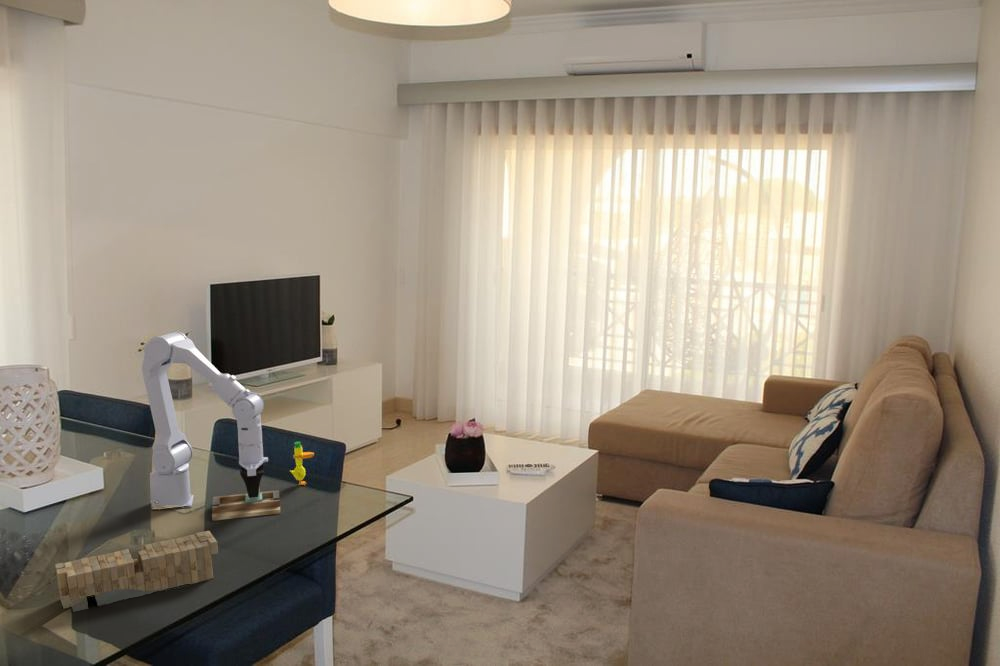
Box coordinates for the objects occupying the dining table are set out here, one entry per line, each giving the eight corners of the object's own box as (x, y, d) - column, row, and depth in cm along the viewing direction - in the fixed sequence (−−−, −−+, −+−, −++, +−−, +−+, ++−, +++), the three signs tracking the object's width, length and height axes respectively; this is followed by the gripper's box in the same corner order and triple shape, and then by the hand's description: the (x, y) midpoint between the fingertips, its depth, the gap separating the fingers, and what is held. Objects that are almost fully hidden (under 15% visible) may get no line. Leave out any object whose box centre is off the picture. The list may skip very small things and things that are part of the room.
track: (212, 520, 204) (211, 509, 204) (214, 503, 215) (213, 493, 215) (280, 513, 208) (279, 502, 208) (279, 496, 220) (278, 486, 219)
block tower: (64, 620, 159) (221, 578, 174) (58, 579, 157) (217, 539, 172) (60, 603, 165) (212, 564, 180) (54, 563, 164) (208, 527, 179)
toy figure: (314, 481, 232) (312, 438, 230) (316, 485, 228) (314, 442, 227) (289, 483, 230) (287, 441, 228) (290, 488, 226) (288, 445, 224)
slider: (245, 507, 209) (244, 487, 208) (246, 500, 214) (244, 480, 213) (262, 506, 210) (261, 485, 209) (262, 499, 215) (261, 479, 214)
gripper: (267, 449, 204) (270, 502, 206) (266, 433, 218) (269, 483, 220) (237, 452, 202) (240, 506, 204) (238, 435, 216) (241, 486, 218)
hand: (253, 494), depth 212 cm, fingers closed on slider, 3 cm apart
